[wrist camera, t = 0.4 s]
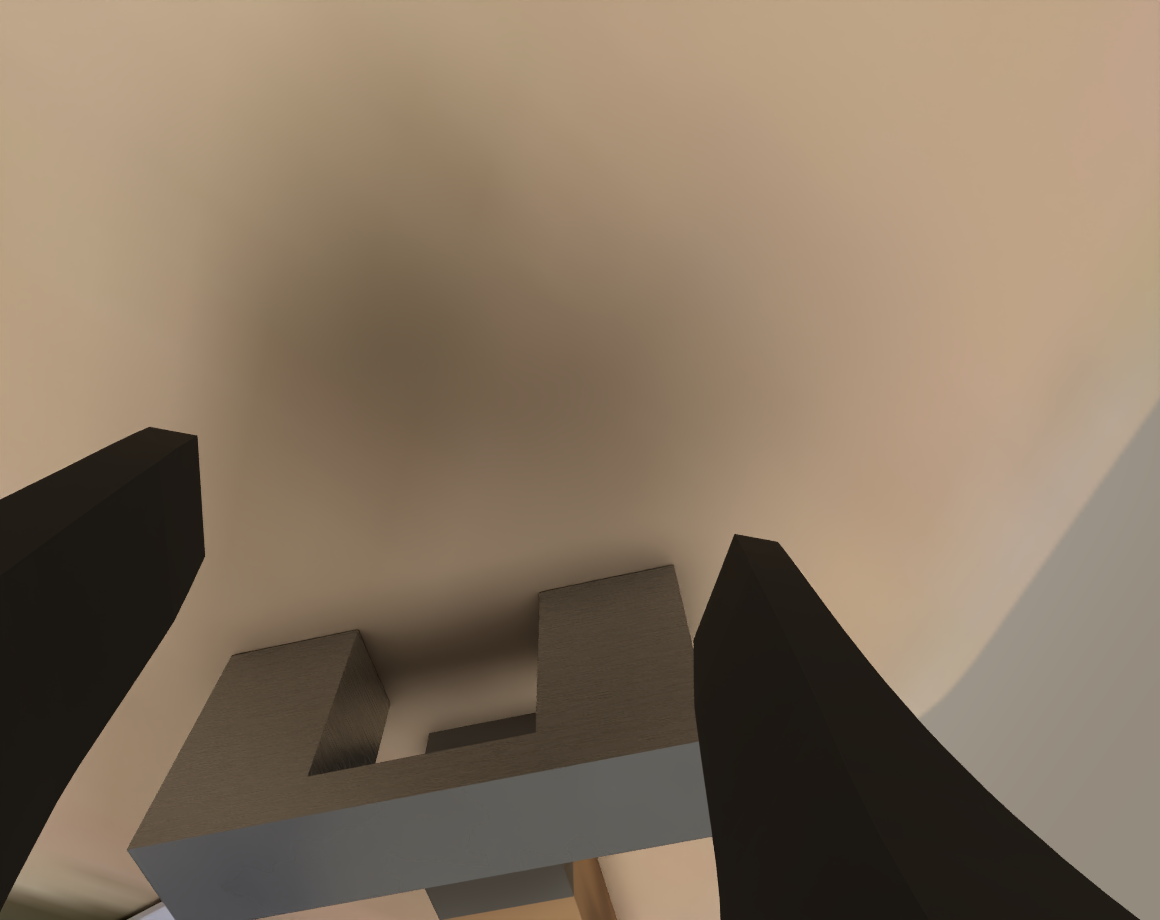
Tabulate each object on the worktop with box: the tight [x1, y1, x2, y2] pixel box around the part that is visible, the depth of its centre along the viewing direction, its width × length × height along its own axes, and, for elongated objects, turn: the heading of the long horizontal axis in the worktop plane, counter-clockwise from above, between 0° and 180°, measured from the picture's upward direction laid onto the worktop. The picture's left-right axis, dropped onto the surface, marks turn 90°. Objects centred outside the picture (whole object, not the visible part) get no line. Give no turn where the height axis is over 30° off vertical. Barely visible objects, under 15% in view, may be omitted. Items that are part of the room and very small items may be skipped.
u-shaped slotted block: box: [127, 565, 712, 920], centre depth 22 cm, size 3×14×7 cm, turn 103°
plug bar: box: [425, 713, 617, 920], centre depth 27 cm, size 11×4×4 cm, turn 13°
